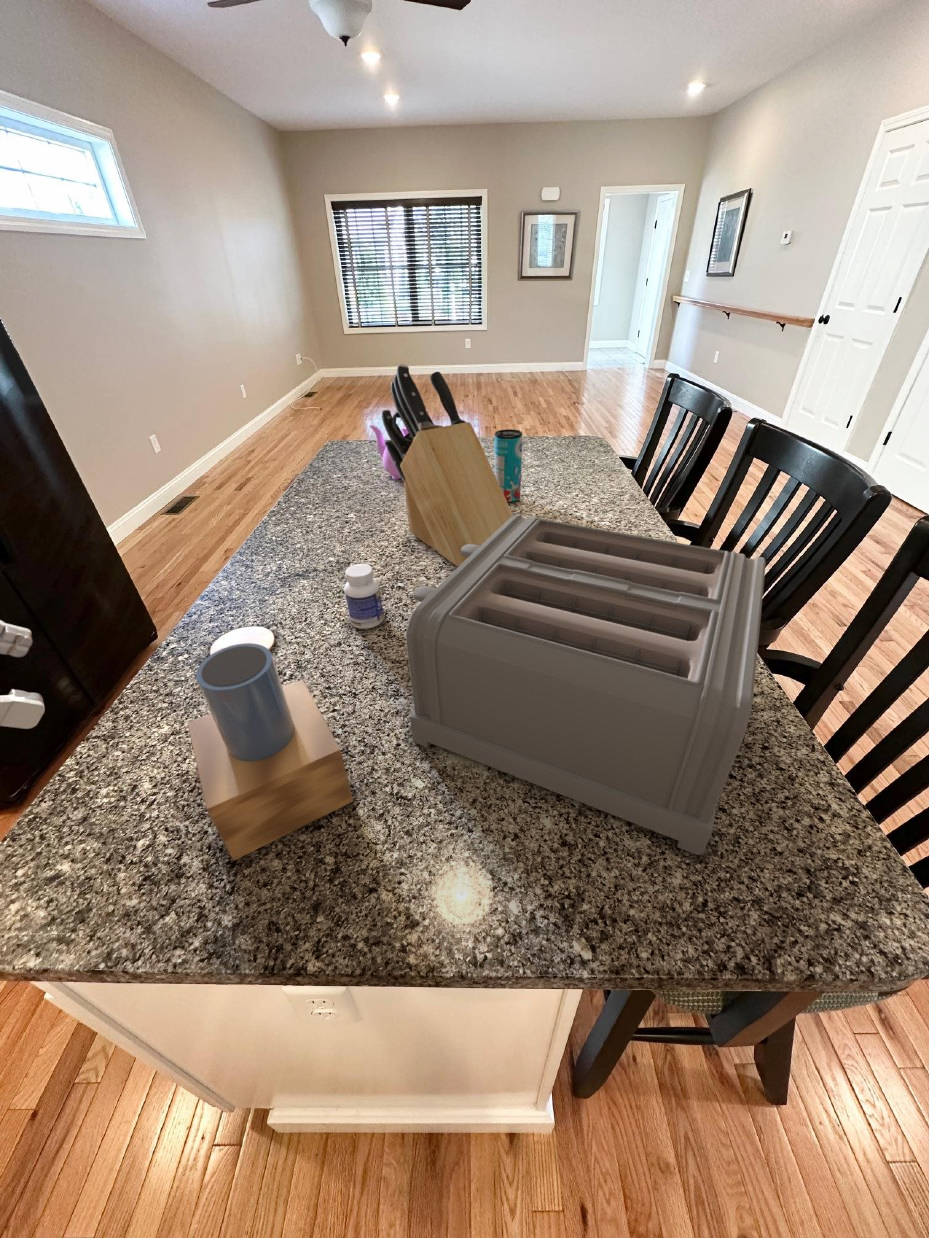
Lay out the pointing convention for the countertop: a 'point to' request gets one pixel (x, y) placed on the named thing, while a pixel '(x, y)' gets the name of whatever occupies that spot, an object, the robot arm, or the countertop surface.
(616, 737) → the toaster
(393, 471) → the teapot
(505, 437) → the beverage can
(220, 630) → the countertop surface
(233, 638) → the coaster
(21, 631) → the robot arm
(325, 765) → the wood block
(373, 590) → the pill bottle
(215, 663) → the cup
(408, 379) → the knife block
